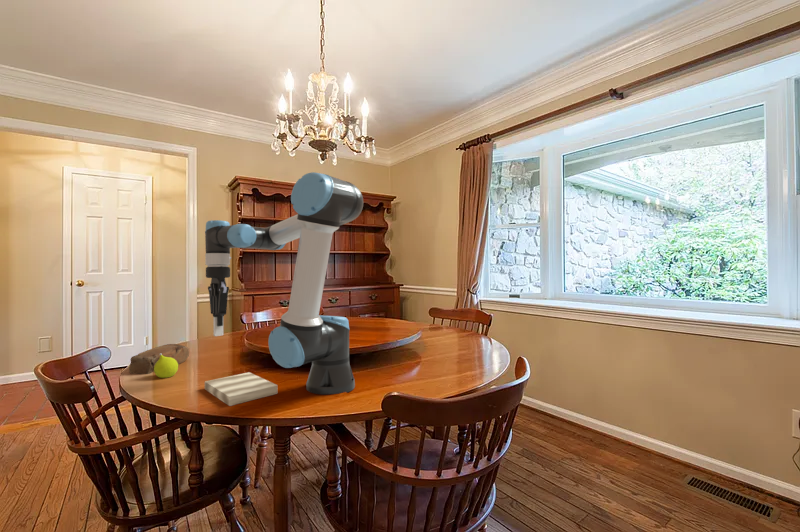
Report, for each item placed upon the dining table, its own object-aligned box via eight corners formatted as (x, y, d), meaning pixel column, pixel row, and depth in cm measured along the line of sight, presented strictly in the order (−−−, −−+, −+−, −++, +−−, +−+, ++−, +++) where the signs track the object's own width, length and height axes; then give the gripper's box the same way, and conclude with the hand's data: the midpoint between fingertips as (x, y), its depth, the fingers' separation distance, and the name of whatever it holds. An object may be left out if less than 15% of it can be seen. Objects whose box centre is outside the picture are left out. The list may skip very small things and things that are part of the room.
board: (277, 393, 110) (277, 385, 110) (229, 406, 100) (229, 396, 100) (249, 379, 124) (249, 372, 124) (204, 389, 114) (204, 381, 114)
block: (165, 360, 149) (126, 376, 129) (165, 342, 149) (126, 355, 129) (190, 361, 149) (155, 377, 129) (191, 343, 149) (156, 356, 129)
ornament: (149, 381, 123) (149, 351, 123) (161, 375, 130) (161, 347, 130) (171, 380, 123) (171, 351, 123) (182, 374, 130) (182, 346, 130)
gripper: (236, 265, 123) (237, 336, 123) (222, 266, 132) (222, 332, 132) (213, 265, 118) (213, 339, 117) (199, 266, 127) (200, 334, 127)
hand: (218, 335), depth 125 cm, fingers closed
